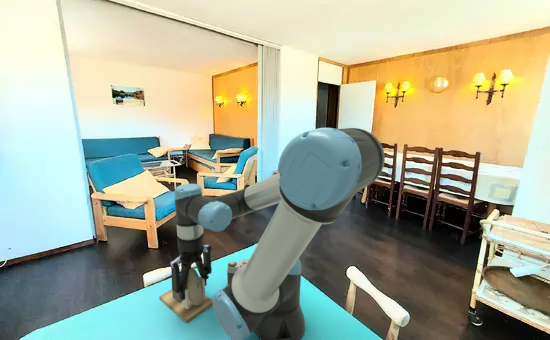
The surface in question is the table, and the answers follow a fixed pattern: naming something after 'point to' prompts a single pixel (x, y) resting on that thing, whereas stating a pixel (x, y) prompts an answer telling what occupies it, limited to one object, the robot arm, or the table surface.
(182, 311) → the board
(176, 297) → the eraser
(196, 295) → the stone
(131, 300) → the table surface
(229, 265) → the camera
